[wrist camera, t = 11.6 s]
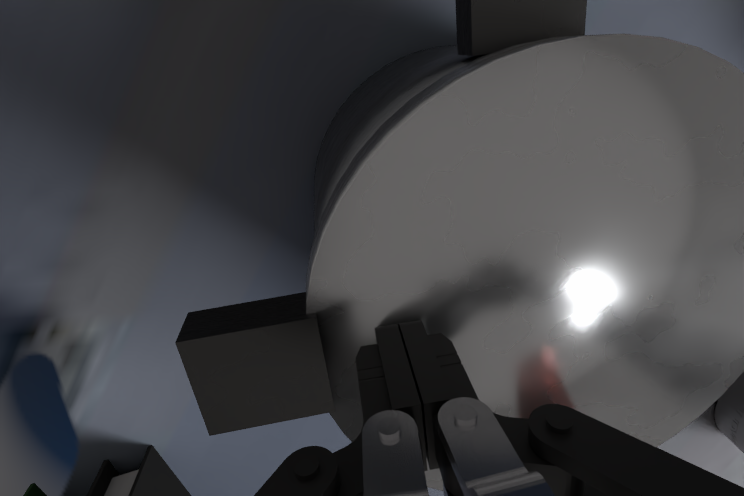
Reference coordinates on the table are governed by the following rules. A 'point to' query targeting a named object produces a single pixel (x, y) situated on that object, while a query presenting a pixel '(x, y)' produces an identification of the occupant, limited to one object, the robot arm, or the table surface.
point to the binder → (132, 480)
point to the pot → (435, 74)
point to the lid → (519, 247)
